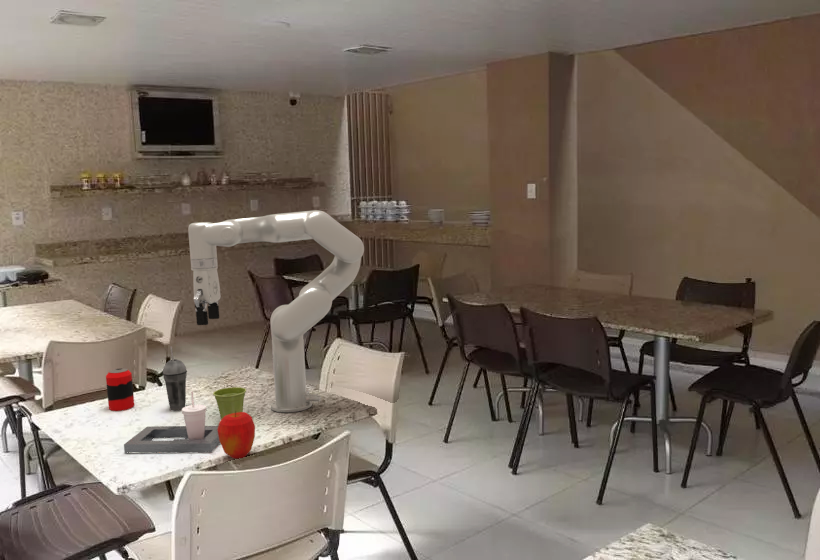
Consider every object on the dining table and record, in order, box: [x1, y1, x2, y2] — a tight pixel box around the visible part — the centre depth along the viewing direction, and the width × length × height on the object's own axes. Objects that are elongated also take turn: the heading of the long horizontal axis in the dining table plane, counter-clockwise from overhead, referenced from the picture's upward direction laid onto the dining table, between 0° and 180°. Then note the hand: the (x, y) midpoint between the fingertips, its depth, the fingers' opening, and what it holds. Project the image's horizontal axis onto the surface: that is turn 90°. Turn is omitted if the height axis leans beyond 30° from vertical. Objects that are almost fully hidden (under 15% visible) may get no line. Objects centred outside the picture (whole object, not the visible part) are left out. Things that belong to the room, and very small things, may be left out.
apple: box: [217, 411, 256, 460], centre depth 180 cm, size 9×9×12 cm
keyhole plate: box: [123, 425, 221, 454], centre depth 192 cm, size 23×14×2 cm, turn 86°
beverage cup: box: [162, 346, 188, 412], centre depth 222 cm, size 7×7×20 cm
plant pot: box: [212, 386, 247, 421], centre depth 209 cm, size 9×9×9 cm
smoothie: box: [181, 391, 208, 439], centre depth 191 cm, size 6×6×14 cm
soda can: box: [105, 367, 135, 412], centre depth 226 cm, size 8×8×12 cm
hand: (208, 321), depth 213 cm, fingers open, 9 cm apart
